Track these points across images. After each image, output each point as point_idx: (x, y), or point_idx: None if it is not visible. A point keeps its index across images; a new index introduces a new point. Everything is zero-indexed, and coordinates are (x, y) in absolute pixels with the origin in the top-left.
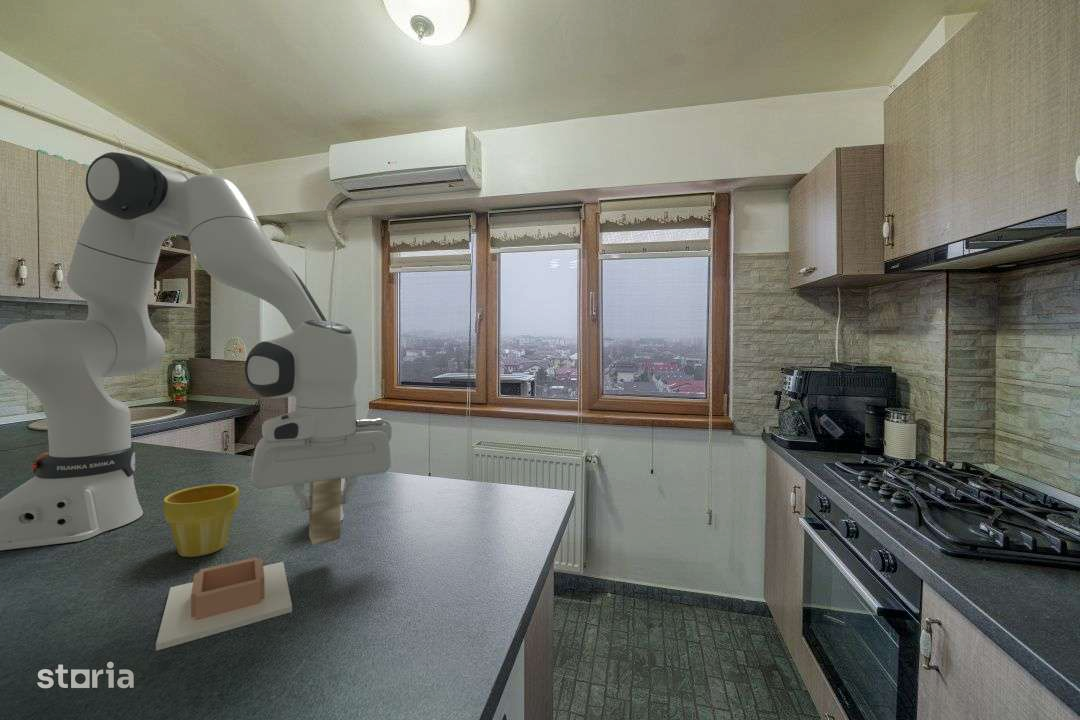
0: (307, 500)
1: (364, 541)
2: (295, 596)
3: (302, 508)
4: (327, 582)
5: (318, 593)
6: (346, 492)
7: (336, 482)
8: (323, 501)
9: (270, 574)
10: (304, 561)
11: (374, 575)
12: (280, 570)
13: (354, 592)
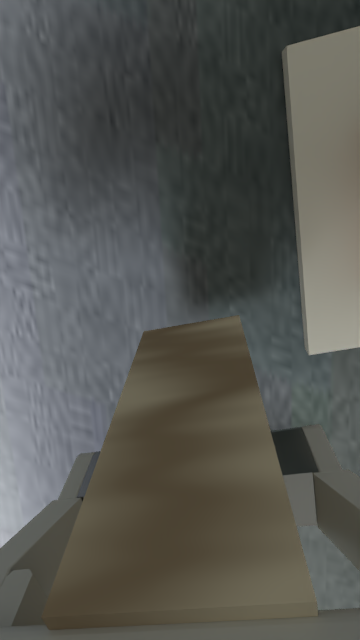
0: (305, 469)
1: (100, 414)
2: (272, 157)
3: (319, 430)
4: (184, 212)
5: (207, 150)
6: (66, 505)
7: (94, 575)
8: (205, 437)
9: (344, 291)
10: (250, 357)
11: (49, 206)
12: (316, 305)
13: (99, 114)
